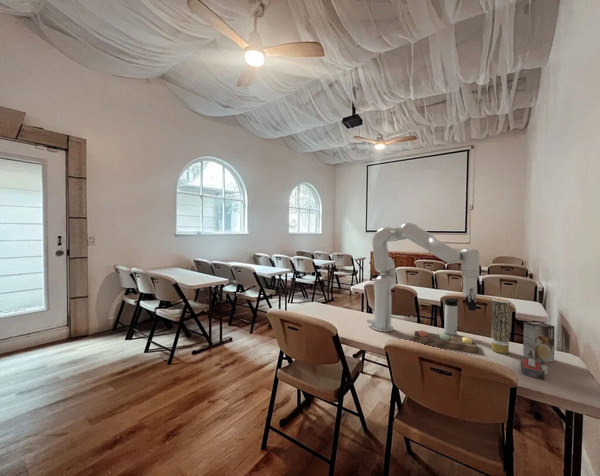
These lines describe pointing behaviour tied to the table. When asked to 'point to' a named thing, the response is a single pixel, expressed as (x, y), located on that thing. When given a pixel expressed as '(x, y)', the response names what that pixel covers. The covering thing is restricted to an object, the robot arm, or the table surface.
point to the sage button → (444, 337)
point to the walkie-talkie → (533, 368)
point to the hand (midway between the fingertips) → (470, 307)
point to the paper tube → (500, 325)
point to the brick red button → (422, 333)
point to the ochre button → (466, 340)
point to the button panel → (446, 342)
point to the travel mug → (450, 317)
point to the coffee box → (538, 341)
